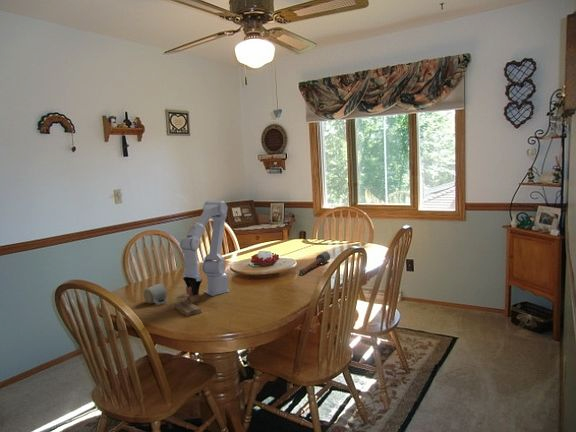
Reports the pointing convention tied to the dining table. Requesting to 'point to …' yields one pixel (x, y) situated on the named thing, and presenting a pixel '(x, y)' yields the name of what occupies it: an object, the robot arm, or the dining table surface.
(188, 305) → the board
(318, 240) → the dining table surface
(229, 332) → the dining table surface
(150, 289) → the ceramic mug
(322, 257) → the mallet
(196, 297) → the block with upright post
